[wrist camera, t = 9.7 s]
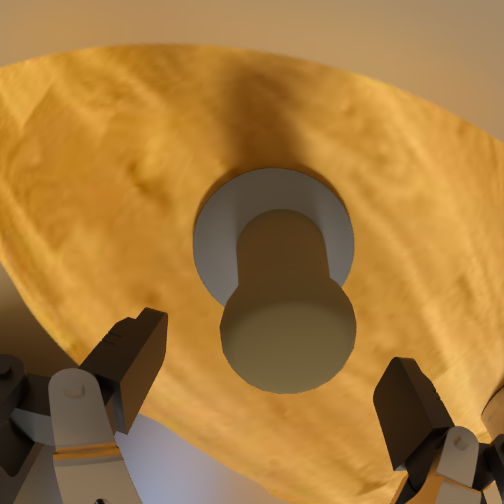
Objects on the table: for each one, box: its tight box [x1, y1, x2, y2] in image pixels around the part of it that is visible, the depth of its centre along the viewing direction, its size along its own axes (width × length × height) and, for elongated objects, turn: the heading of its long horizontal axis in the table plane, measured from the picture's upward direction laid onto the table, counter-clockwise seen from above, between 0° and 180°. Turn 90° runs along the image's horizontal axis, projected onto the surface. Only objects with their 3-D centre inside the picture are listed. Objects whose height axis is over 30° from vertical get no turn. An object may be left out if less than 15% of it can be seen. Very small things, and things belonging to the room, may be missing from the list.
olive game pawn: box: [220, 209, 356, 394], centre depth 15 cm, size 6×6×11 cm
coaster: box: [193, 168, 354, 307], centre depth 20 cm, size 11×11×1 cm
